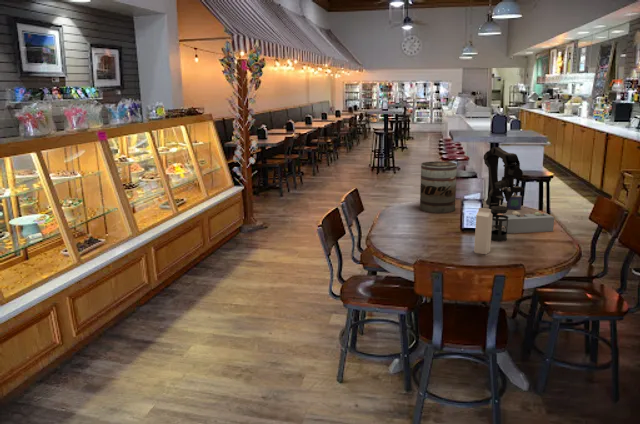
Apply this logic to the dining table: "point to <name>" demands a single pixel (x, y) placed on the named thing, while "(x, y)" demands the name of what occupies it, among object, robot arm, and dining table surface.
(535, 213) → the pale green rounded cylinder
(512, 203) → the flask
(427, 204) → the barrel
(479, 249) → the milk
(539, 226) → the block
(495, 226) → the french press
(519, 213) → the cream button
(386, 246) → the dining table surface
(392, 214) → the dining table surface
